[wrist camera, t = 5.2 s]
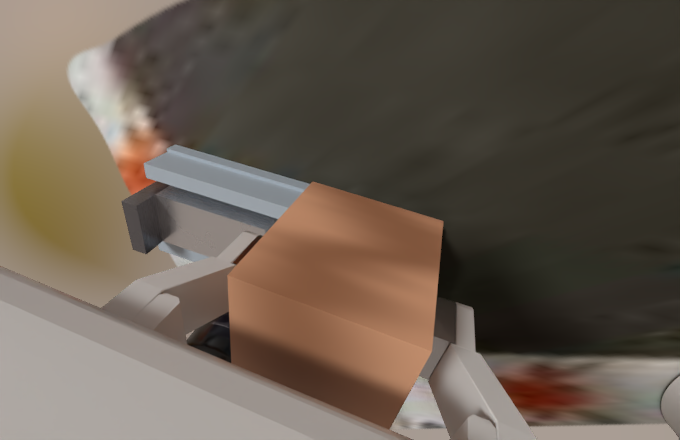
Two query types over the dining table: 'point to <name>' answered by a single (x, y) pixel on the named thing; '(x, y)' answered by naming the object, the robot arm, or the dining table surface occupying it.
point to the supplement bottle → (213, 338)
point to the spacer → (339, 301)
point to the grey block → (187, 220)
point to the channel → (222, 185)
